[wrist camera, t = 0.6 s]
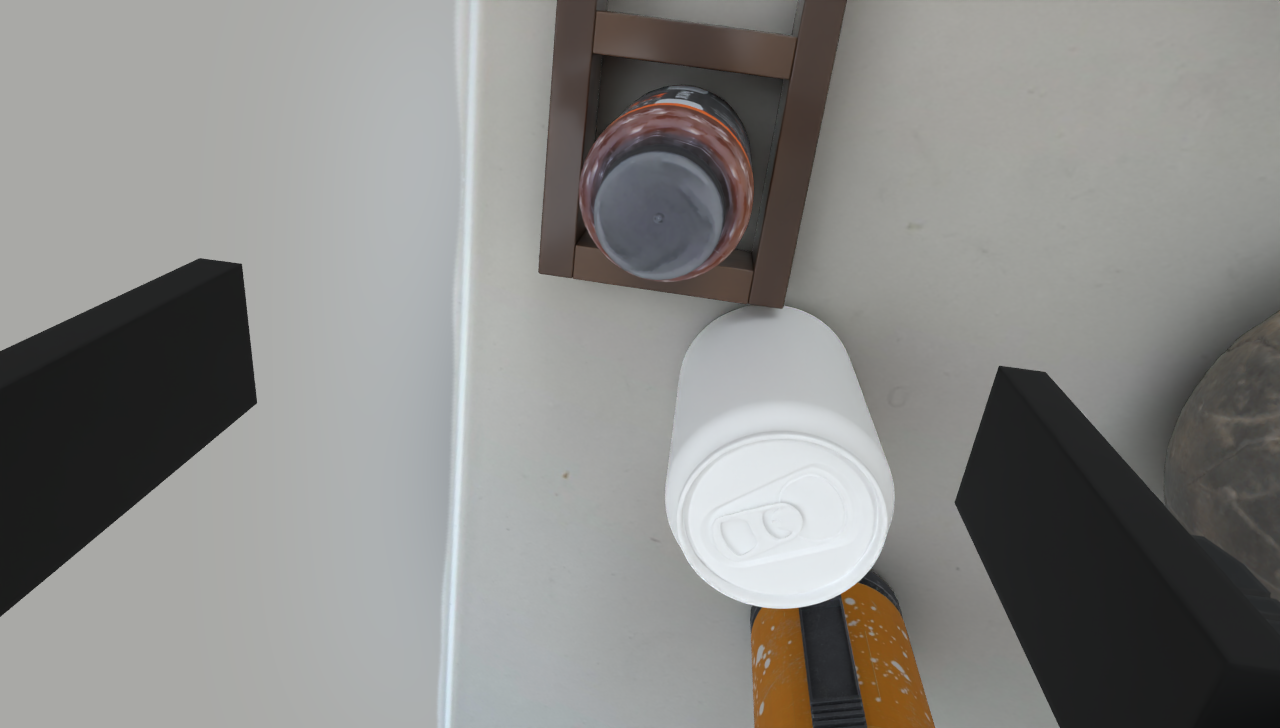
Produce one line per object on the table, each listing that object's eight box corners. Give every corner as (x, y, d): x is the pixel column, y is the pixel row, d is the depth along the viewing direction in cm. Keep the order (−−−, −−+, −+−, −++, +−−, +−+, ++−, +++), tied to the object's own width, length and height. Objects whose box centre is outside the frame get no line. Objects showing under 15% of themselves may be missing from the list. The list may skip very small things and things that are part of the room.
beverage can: (875, 419, 38) (935, 581, 27) (720, 474, 40) (718, 645, 29) (814, 271, 35) (853, 384, 24) (651, 338, 37) (621, 470, 27)
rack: (552, 254, 36) (537, 273, 34) (591, -268, 28) (577, -298, 26) (778, 287, 36) (783, 310, 33) (884, -234, 28) (901, -261, 25)
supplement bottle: (658, 53, 32) (627, 70, 22) (777, 134, 33) (801, 187, 23) (586, 176, 35) (527, 244, 24) (699, 249, 36) (687, 344, 25)
